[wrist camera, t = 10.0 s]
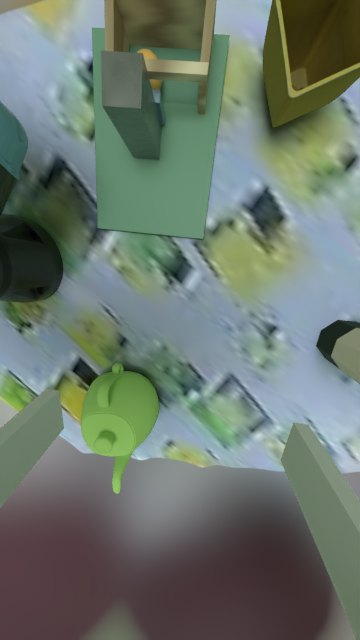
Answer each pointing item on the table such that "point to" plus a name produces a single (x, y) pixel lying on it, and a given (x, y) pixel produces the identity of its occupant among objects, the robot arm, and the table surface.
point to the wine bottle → (342, 346)
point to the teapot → (118, 416)
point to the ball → (150, 55)
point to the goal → (165, 36)
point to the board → (175, 153)
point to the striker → (132, 102)
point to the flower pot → (309, 55)
